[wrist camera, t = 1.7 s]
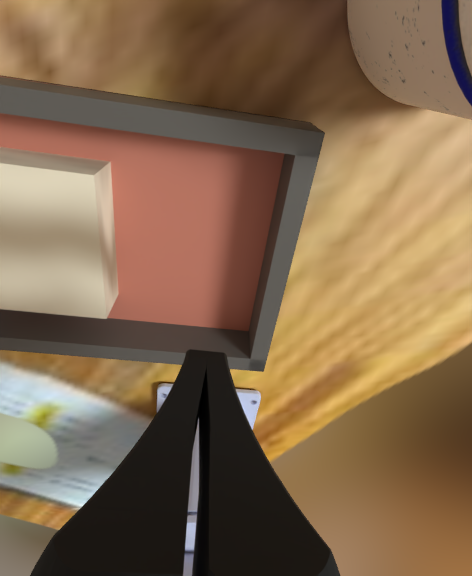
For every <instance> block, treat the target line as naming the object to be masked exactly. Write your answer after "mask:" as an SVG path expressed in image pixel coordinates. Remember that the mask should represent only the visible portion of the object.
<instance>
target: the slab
mask: <svg viewBox="0 0 472 576" xmlns="http://www.w3.org/2000/svg"><path fill="white" fill-rule="evenodd" d="M117 296H118V277H117V260H116V244H115V227H114V211H113V194H112V178H111V162H110V161H102V160H95V159H87V158H80V157H73V156H65V155H58V154H50V153H43V152H35V151H28V150H20V149H13V148H5V147H0V309H5V310H15V311H26V312H37V313H47V314H58V315H69V316H80V317H90V318H101V319H107V317H108V315H109V313H110V311H111V309H112V307H113V304H114V302H115V300H116V298H117Z"/></svg>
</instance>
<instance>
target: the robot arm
mask: <svg viewBox="0 0 472 576" xmlns="http://www.w3.org/2000/svg"><path fill="white" fill-rule="evenodd" d="M163 393H164V394H163ZM260 400H261V394H260V392H259V391H256V390H245V389H235V386H234V383H233V380H232V376H231V373H230V369H229V365H228V360H227V355H226V354H225V353H223V352H213V351H203V350H192V349H190V350H188V351H186V355H185V359H184V362H183V364H182V367H181V369H180V372H179V374H178V376H177V378H176V380H175V382H174V384H168V383H162V384H160V385H158V389H157V414H156V416H155V417H154V419H153V420H152V422H151V423H150V425H149V426H148V428H147V429H146V431H145V432H144V433H143V435H142V436H141V438H140V439H139V440H138V442H137V443H136V445H135V446H134V447H133V448H132V450H131V451H130V452H129V454H128V455H127V456H126V457H125V459H124V460H123V461H122V462H121V464H120V465H119V466H118V467H117V469H116V470H115V471H114V472H113V473H112V474H111V476H110V477H109V478H108V479H107V480H106V481H105V482H104V483H103V485H102V486H101V487H100V488H99V489H98V490H97V491H96V492H95V494H94V495H93V496H92V497H91V498H90V499H89V500H88V501H87V502H86V503H85V504H84V506H83V507H82V508H81V509H80V510H79V511H78V512H77V513H76V514H75V515H74V516H73V517H72V518H71V519H70V520H69V521H68V522H67V523H66V524H65V525H64V526H63V527H62V528H61V529H60V530H59V531H58V532H57V533H56V534H55V535H54V536H53V538H52V539H51V540H50V542H49V544H48V545H47V547H46V549H45V550H44V552H43V553H42V555H41V557H40V559H39V560H38V562H37V564H36V565H35V567H34V569H33V571H32V573H31V575H30V576H340V573H339V571H338V567H337V564H336V562H335V559H334V556H333V554H332V552H331V549H330V548H329V547H328V546H327V544H326V543H325V542H324V540H323V539H322V538H321V537H320V536H319V534H318V533H317V532H316V530H315V529H314V528H313V526H312V525H311V524H310V522H309V521H308V520H307V518H306V517H305V516H304V514H303V513H302V512H301V510H300V509H299V507H298V506H297V505H296V503H295V502H294V500H293V499H292V497H291V496H290V494H289V493H288V491H287V490H286V488H285V487H284V485H283V484H282V482H281V480H280V479H279V477H278V476H277V474H276V473H275V471H274V469H273V468H272V466H271V464H270V463H269V461H268V459H267V457H266V456H265V454H264V452H263V450H262V448H261V446H260V444H259V443H258V441H257V439H256V437H255V435H254V433H253V426H254V422H255V418H256V415H257V411H258V407H259V403H260Z"/></svg>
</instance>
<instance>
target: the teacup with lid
mask: <svg viewBox="0 0 472 576" xmlns="http://www.w3.org/2000/svg"><path fill="white" fill-rule="evenodd" d="M347 18H348V28H349V34H350V40H351V44H352V47H353V51H354V54H355V56H356V59H357V61H358V63H359V65H360V67H361V69H362V71H363V72H364V74H365V75H366V77H367V78H368V80H369V81H370V82H371V83H372V84H373V85H374V86H375V87H376V88H377V89H378V90H379V91H380V92H382V93H383V94H385V95H386V96H387V97H389V98H391V99H393V100H395V101H397V102H400V103H403V104H406V105H410V106H415V107H419V108H423V109H428V110H432V111H437V112H441V113H445V114H450V115H454V116H458V117H463V118H467V119H471V120H472V0H347Z"/></svg>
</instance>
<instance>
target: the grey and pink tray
mask: <svg viewBox="0 0 472 576" xmlns="http://www.w3.org/2000/svg"><path fill="white" fill-rule="evenodd" d="M324 134H325V133H324V132H323V131H321V130H320V129H318V128H317V127H316V126H314V125H313V124H312V123H310V122H303V121H296V120H290V119H283V118H277V117H270V116H263V115H257V114H250V113H244V112H237V111H230V110H224V109H217V108H211V107H204V106H197V105H191V104H184V103H178V102H171V101H164V100H158V99H151V98H145V97H138V96H131V95H125V94H118V93H112V92H105V91H98V90H92V89H85V88H79V87H72V86H65V85H59V84H52V83H46V82H39V81H32V80H26V79H19V78H13V77H6V76H0V147H5V148H13V149H20V150H28V151H35V152H43V153H50V154H58V155H65V156H73V157H80V158H87V159H95V160H102V161H110V162H111V178H112V194H113V211H114V227H115V244H116V260H117V277H118V296H117V298H116V300H115V302H114V304H113V307H112V309H111V311H110V313H109V315H108V317H107V319H101V318H90V317H80V316H69V315H58V314H47V313H37V312H26V311H15V310H5V309H0V350H11V351H23V352H35V353H47V354H59V355H71V356H83V357H95V358H107V359H119V360H131V361H143V362H155V363H167V364H179V365H182V364H183V362H184V359H185V355H186V351H188V350H190V349H192V350H203V351H213V352H223V353H225V354H226V355H227V360H228V365H229V369H238V370H250V371H262V372H264V368H265V364H266V360H267V356H268V352H269V349H270V345H271V341H272V337H273V333H274V329H275V325H276V321H277V317H278V313H279V310H280V306H281V302H282V298H283V294H284V290H285V286H286V282H287V278H288V275H289V271H290V267H291V263H292V259H293V255H294V251H295V247H296V243H297V240H298V236H299V232H300V228H301V224H302V220H303V216H304V212H305V208H306V205H307V201H308V197H309V193H310V189H311V185H312V181H313V177H314V173H315V169H316V166H317V162H318V158H319V154H320V150H321V146H322V142H323V138H324Z"/></svg>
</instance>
